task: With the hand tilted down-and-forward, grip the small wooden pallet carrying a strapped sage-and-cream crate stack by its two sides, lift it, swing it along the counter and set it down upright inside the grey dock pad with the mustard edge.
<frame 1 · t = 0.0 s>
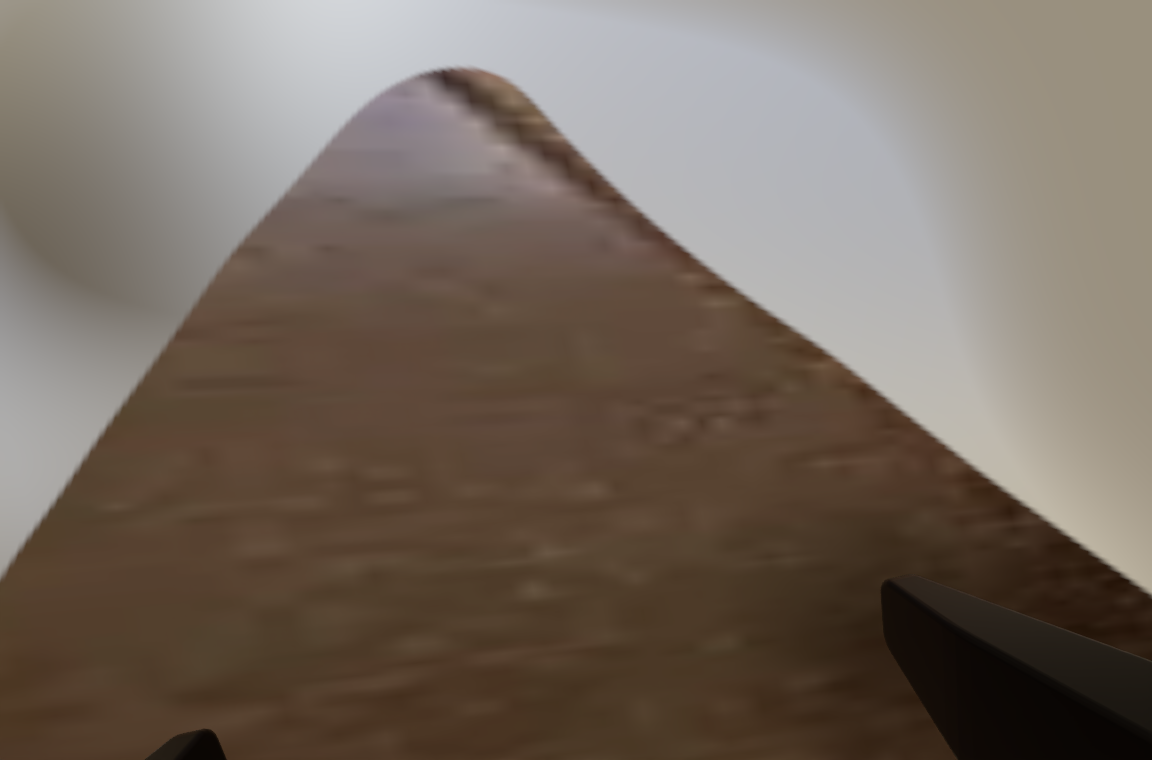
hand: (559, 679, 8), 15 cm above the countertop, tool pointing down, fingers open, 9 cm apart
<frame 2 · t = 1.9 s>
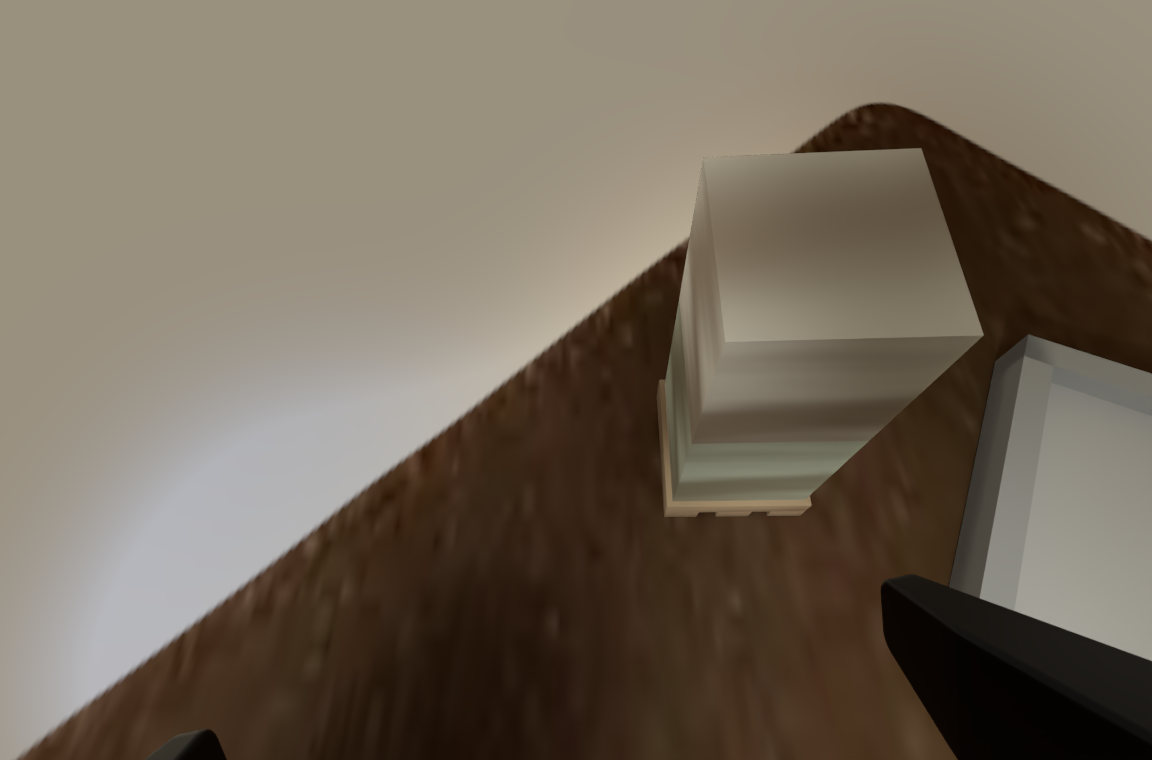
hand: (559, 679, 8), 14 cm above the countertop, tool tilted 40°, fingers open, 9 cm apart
dock pad: (1135, 543, 21), on the countertop
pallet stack: (724, 452, 24), on the countertop
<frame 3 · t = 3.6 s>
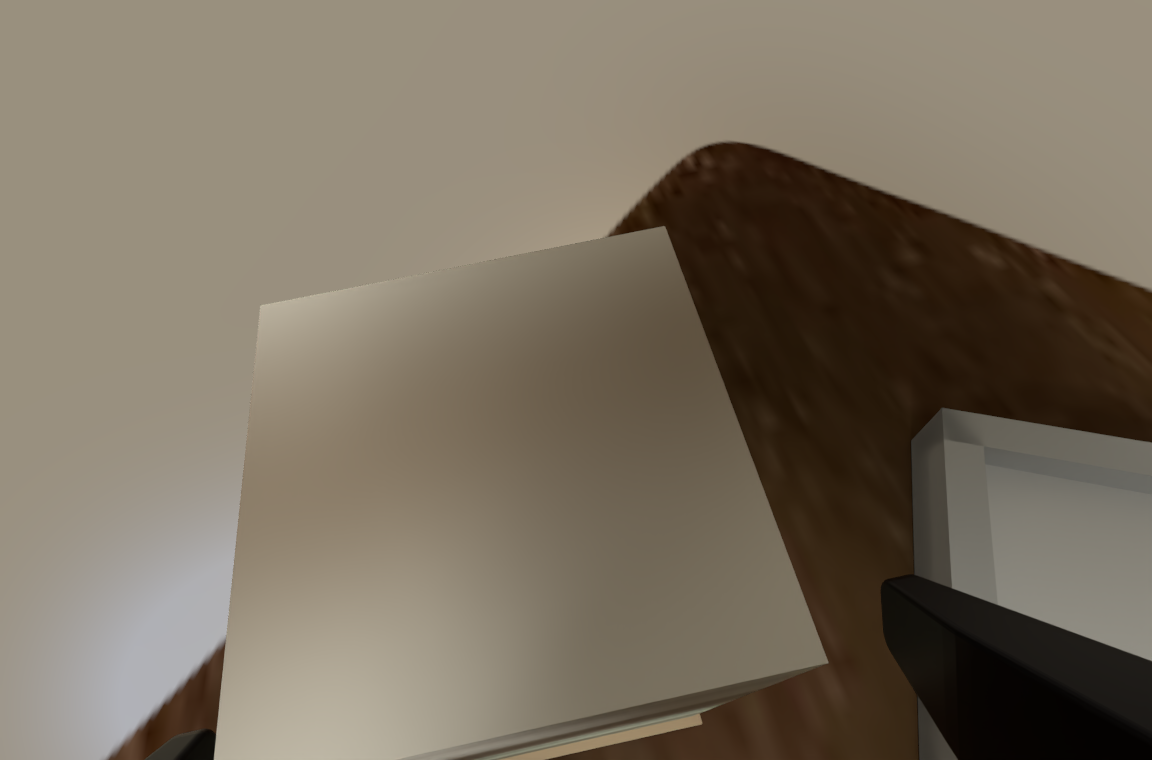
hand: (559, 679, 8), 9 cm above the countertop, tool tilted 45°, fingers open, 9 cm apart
dock pad: (1148, 675, 15), on the countertop
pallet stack: (582, 643, 17), on the countertop
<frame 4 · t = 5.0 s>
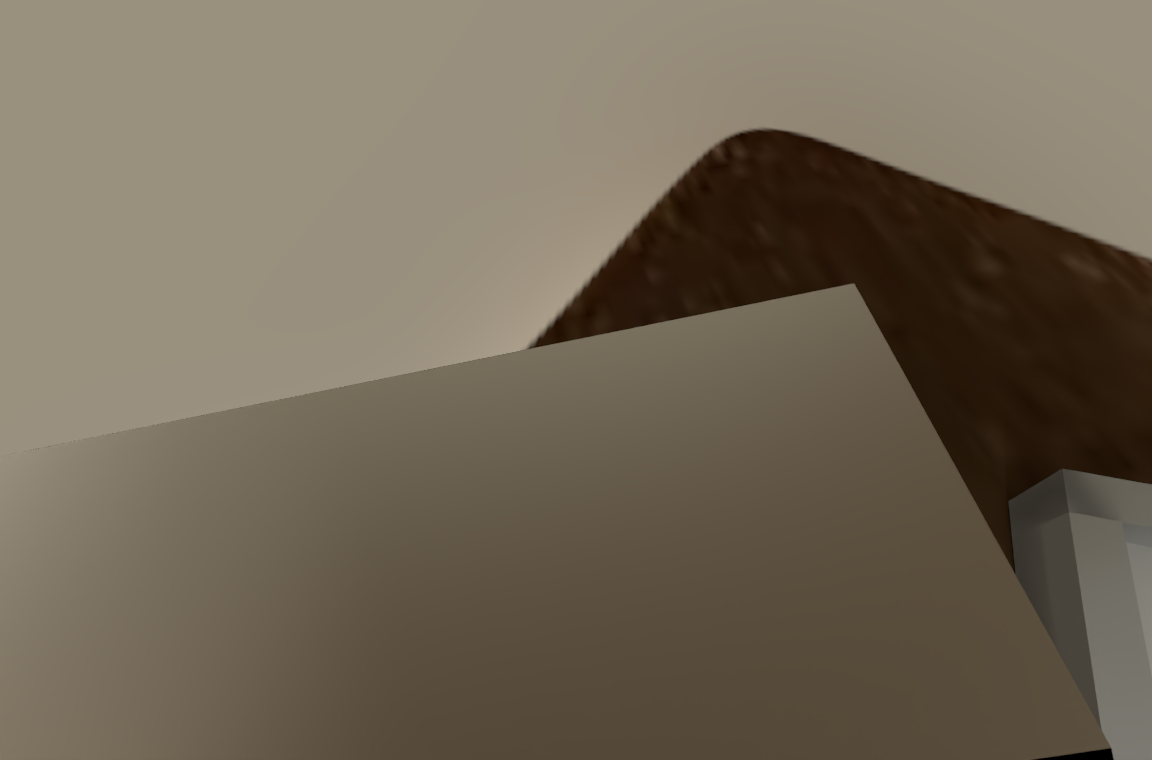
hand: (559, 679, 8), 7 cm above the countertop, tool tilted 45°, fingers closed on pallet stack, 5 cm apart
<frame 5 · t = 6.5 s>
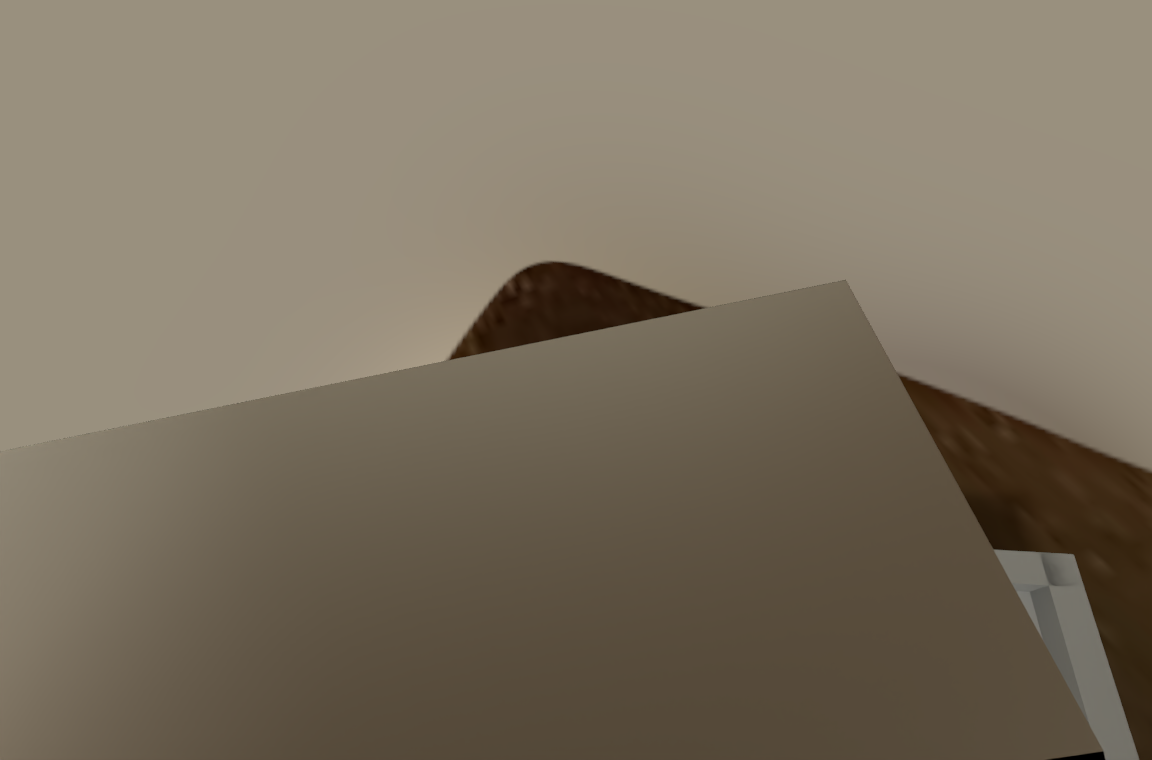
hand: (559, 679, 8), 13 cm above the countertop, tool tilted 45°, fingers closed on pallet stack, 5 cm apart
dock pad: (892, 741, 19), on the countertop
when the fingers open (9 cm above the countertop, at t = 8.4 s): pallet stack drops 1 cm, resting on dock pad.
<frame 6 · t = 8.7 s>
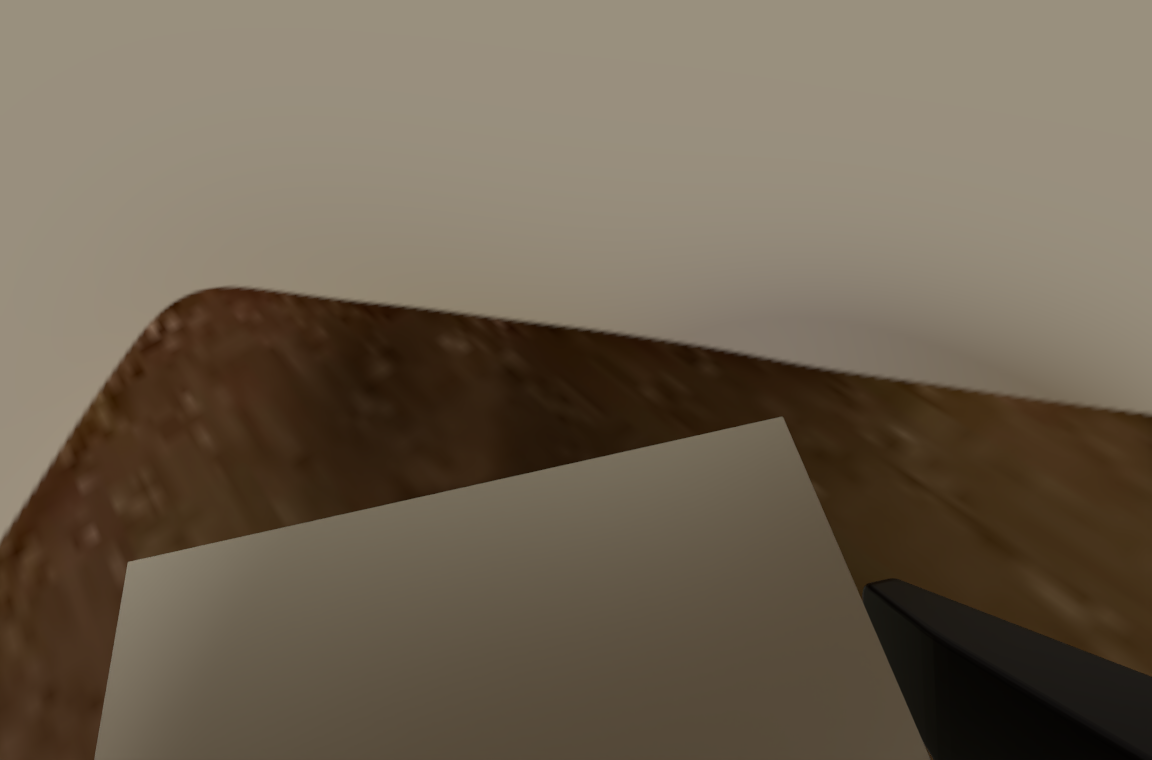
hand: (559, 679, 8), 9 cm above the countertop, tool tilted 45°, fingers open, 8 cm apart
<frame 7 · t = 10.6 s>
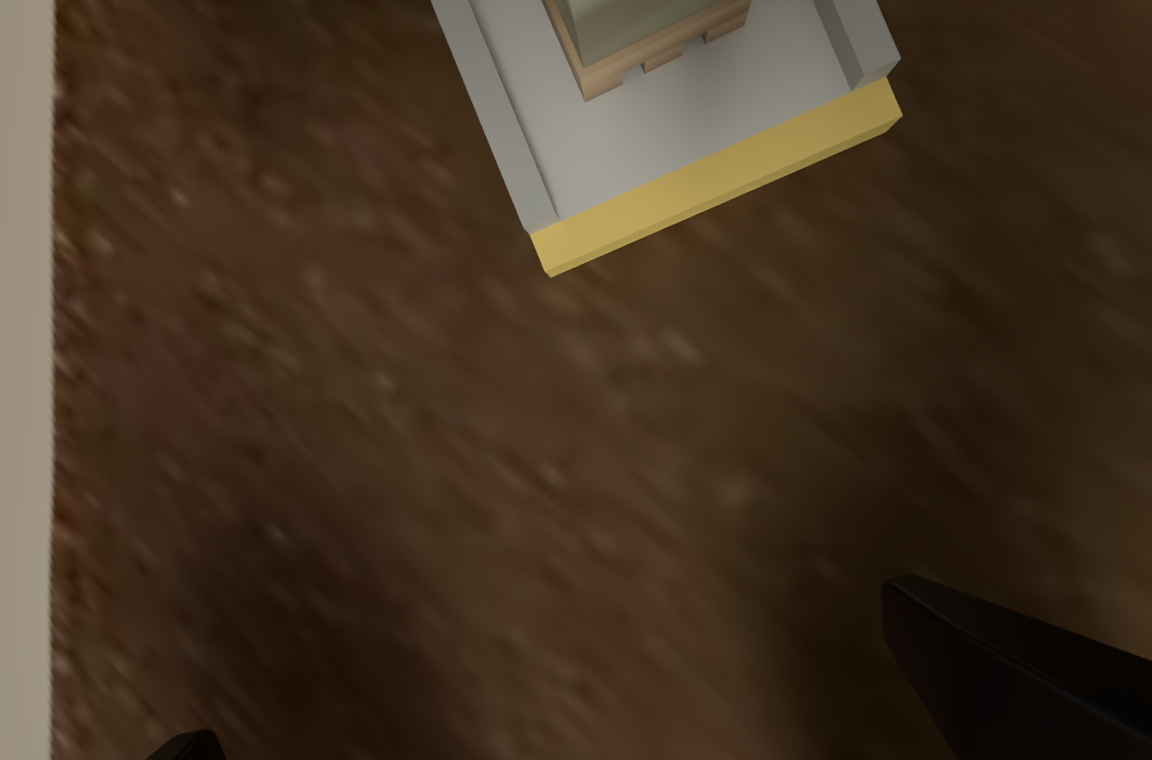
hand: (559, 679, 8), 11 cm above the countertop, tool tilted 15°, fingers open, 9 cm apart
dock pad: (631, 10, 19), on the countertop
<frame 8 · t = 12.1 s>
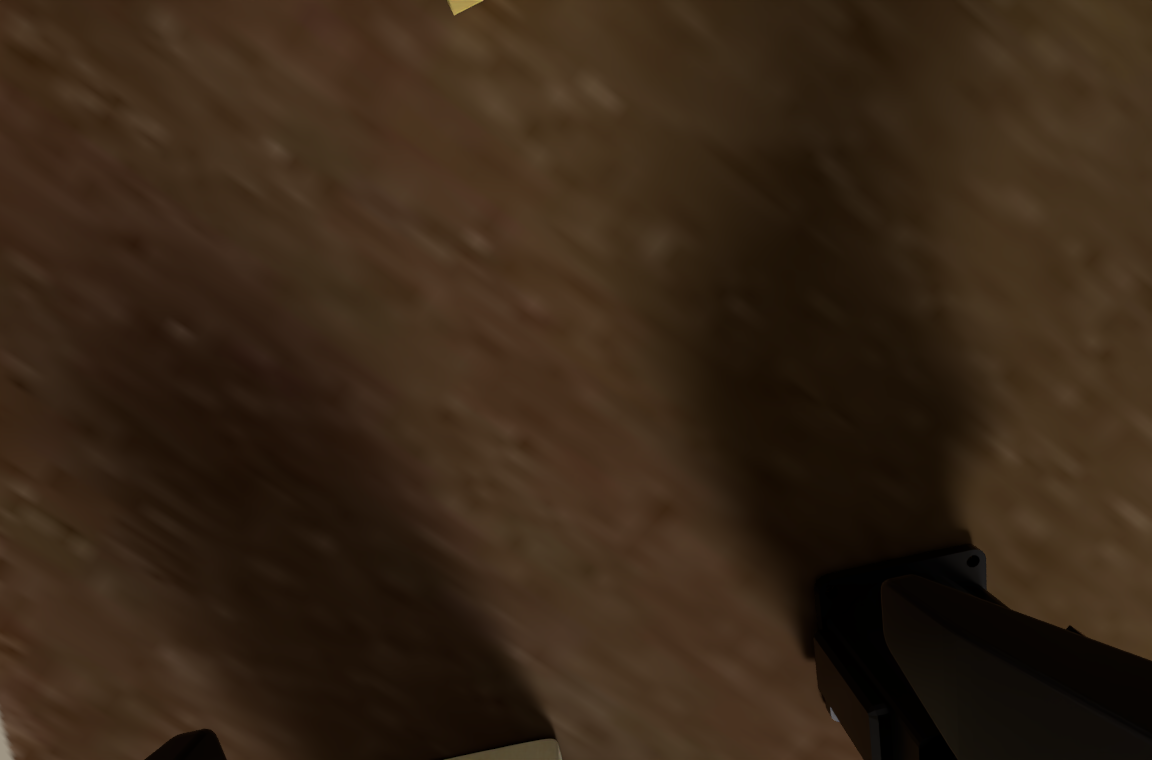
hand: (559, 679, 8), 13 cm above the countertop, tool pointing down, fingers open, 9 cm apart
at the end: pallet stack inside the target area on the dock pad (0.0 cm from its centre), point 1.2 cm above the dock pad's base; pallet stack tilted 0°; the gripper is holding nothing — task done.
